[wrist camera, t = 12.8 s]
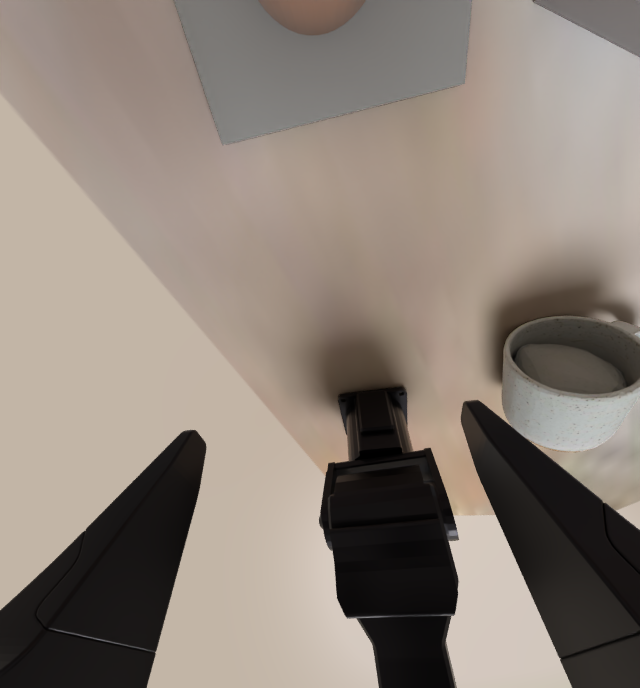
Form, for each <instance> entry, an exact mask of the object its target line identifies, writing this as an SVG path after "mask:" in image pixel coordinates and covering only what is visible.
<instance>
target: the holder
mask: <svg viewBox="0 0 640 688" xmlns="http://www.w3.org/2000/svg"><path fill="white" fill-rule="evenodd" d="M533 2H534V3H536V4H538V5H540V6H542V7H544V8H546V9H548V10H550V11H552V12H554V13H556V14H558V15H560V16H561V17H563V18H565V19H567V20H569V21H571V22H573V23H575V24H577V25H579V26H581V27H583V28H585V29H587V30H588V31H590V32H592V33H594V34H596V35H598V36H600V37H602V38H604V39H606V40H608V41H610V42H612V43H614V44H616V45H617V46H619V47H621V48H623V49H625V50H627V51H629V52H631V53H633V54H635V55H637V56H639V57H640V0H534V1H533Z"/></svg>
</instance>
